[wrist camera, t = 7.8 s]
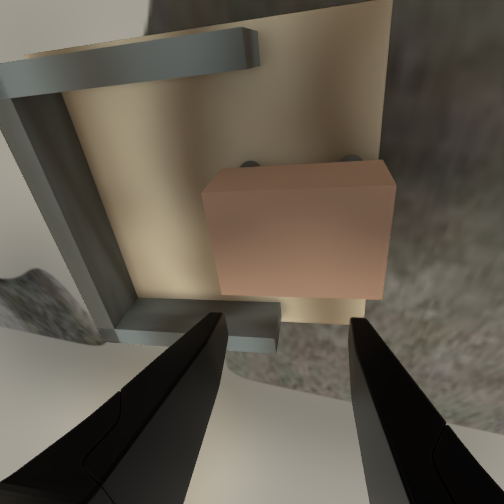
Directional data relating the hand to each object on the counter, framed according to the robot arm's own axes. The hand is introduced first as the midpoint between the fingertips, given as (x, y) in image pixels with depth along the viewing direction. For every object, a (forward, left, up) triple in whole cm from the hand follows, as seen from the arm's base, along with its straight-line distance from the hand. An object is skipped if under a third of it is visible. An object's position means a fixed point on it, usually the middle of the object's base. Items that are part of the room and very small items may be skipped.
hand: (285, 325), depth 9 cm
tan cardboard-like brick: (0, 0, -8) cm, 8 cm away
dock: (+4, 0, -11) cm, 12 cm away
